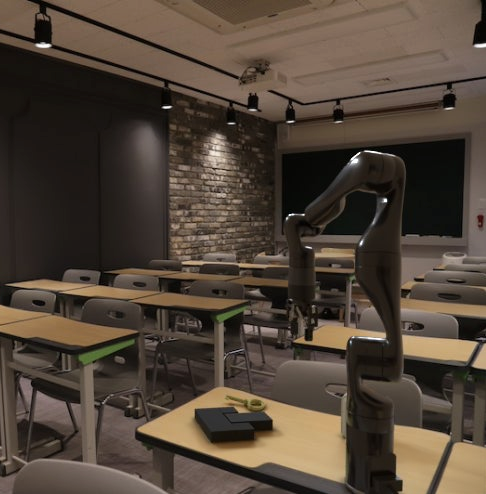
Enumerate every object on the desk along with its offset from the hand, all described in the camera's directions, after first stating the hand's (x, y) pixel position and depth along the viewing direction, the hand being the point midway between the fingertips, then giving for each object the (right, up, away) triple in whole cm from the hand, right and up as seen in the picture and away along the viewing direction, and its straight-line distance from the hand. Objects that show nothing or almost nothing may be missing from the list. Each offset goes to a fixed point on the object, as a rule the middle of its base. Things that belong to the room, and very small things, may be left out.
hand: (301, 337), depth 143 cm
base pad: (-24, -25, -6) cm, 35 cm away
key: (-13, -24, +12) cm, 30 cm away
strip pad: (-17, -25, -5) cm, 30 cm away
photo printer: (+12, -25, -10) cm, 29 cm away
